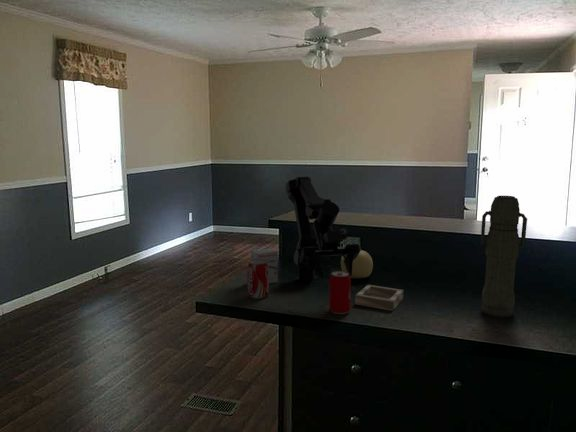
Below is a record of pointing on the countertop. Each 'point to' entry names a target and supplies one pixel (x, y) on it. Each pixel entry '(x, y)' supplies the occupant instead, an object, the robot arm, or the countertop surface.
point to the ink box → (268, 261)
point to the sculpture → (360, 265)
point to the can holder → (379, 297)
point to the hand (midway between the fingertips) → (336, 276)
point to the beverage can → (340, 292)
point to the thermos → (501, 255)
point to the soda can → (257, 278)
